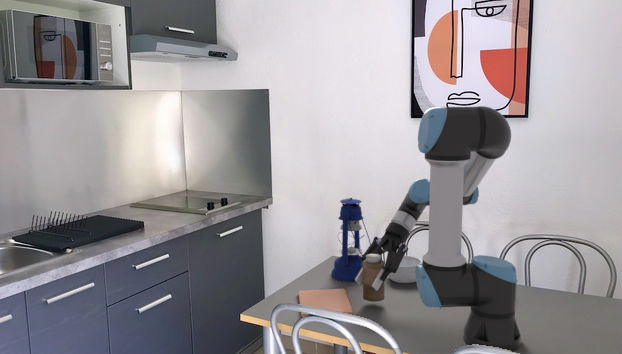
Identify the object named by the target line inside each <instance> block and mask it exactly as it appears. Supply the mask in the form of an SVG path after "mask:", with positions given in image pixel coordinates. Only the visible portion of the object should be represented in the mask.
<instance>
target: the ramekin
mask: <svg viewBox="0 0 622 354" xmlns="http://www.w3.org/2000/svg"><path fill="white" fill-rule="evenodd" d="M422 263H423V259H421V258H419V257H415V256H413V255H404V256H403V259H402V261H401V263H400V265H399V267H398V269H397V272H396V273H390V274H389V275H388V278H389V279H390V280H391V281H393V282H396V283H399V284H412V283H417V282H416V273H415V270H416V266H417V265H419V264H422Z"/></svg>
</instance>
